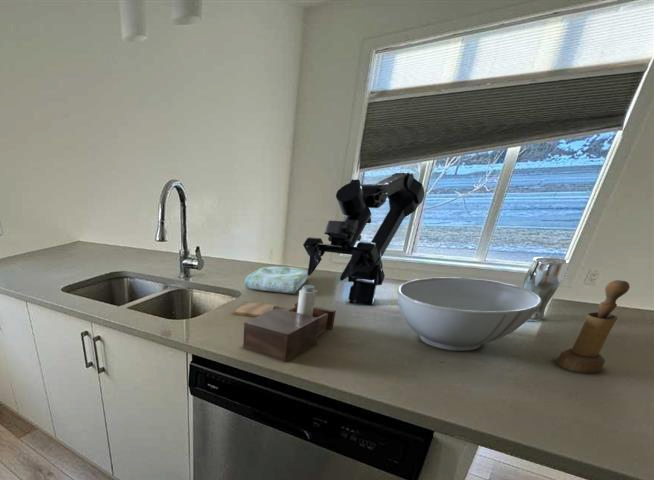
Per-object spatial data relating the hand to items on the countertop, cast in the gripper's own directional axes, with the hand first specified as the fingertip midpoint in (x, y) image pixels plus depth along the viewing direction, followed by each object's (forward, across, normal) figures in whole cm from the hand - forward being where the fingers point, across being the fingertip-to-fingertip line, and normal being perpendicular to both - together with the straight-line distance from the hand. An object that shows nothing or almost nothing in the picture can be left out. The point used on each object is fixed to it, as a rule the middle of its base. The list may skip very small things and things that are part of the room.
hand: (324, 277), depth 108 cm
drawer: (+15, 0, +3) cm, 15 cm away
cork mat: (+10, -21, +9) cm, 25 cm away
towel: (-8, -31, +28) cm, 43 cm away
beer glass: (-17, +38, +36) cm, 55 cm away
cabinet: (+23, 0, -4) cm, 23 cm away
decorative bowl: (+3, +29, +17) cm, 34 cm away
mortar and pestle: (+2, +52, +18) cm, 55 cm away
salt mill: (+14, 0, +3) cm, 14 cm away
